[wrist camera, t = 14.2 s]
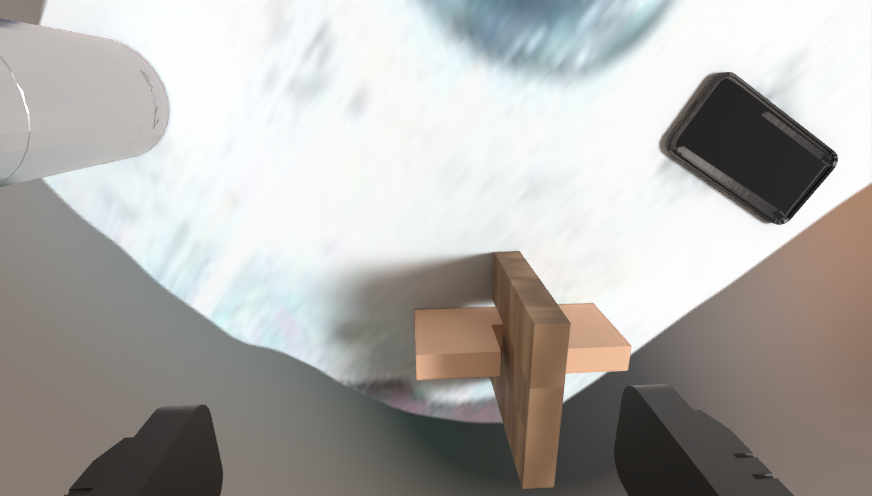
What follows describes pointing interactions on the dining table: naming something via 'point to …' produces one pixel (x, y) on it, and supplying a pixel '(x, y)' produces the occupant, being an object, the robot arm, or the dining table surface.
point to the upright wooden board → (530, 368)
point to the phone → (751, 149)
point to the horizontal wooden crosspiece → (483, 334)
